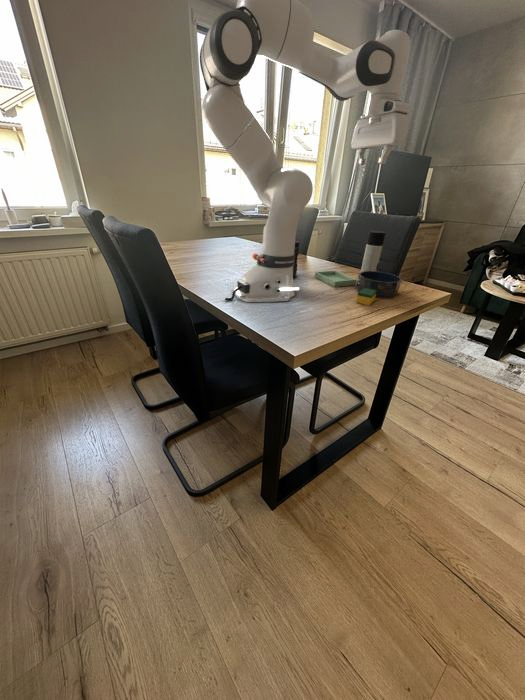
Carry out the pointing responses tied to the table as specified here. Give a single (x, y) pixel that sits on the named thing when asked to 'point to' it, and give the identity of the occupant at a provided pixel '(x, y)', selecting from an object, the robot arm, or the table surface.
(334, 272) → the dish
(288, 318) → the table surface
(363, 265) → the spray can
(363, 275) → the bowl
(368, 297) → the sponge
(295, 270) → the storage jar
